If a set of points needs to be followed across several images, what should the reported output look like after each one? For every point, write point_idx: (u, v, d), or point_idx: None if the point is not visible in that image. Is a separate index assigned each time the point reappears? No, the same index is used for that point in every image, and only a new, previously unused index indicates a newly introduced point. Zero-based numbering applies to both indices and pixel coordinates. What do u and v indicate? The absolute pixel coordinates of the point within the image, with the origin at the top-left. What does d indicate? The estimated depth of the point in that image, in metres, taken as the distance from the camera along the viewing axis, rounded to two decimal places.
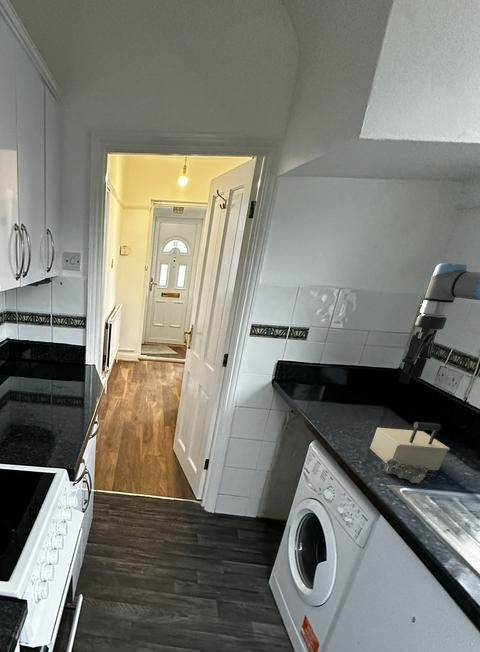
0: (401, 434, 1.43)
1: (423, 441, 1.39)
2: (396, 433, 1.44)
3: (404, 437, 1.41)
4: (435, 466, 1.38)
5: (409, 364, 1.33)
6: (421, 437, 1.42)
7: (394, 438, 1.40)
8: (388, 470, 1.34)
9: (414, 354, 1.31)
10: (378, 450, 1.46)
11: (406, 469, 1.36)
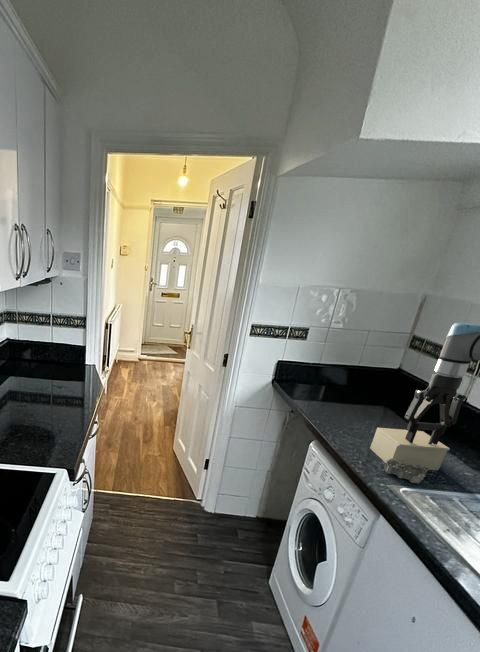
0: (401, 434, 1.43)
1: (423, 441, 1.39)
2: (396, 433, 1.44)
3: (404, 437, 1.41)
4: (435, 466, 1.38)
5: (411, 423, 1.34)
6: (421, 437, 1.42)
7: (394, 438, 1.40)
8: (388, 470, 1.34)
9: (410, 413, 1.33)
10: (378, 450, 1.46)
11: (406, 469, 1.36)
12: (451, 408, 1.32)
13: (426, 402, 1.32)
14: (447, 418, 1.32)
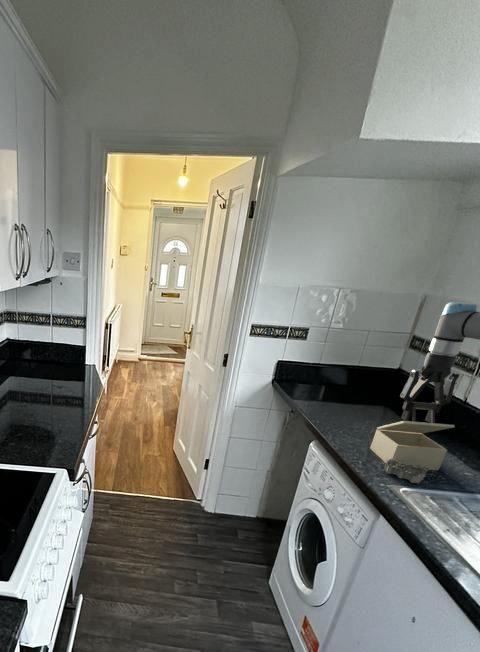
0: None
1: None
2: None
3: None
4: (435, 466, 1.38)
5: (406, 401, 1.37)
6: None
7: None
8: (388, 470, 1.34)
9: (406, 392, 1.36)
10: (378, 450, 1.46)
11: (406, 469, 1.36)
12: (445, 387, 1.35)
13: (421, 381, 1.35)
14: (442, 397, 1.35)
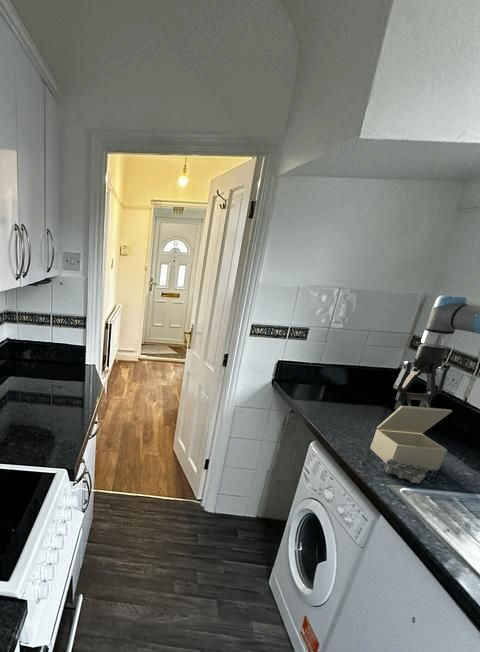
0: None
1: None
2: None
3: None
4: (435, 466, 1.38)
5: (399, 392, 1.42)
6: None
7: None
8: (388, 470, 1.34)
9: (399, 383, 1.40)
10: (378, 450, 1.46)
11: (406, 469, 1.36)
12: (437, 378, 1.40)
13: (413, 372, 1.39)
14: (433, 387, 1.39)
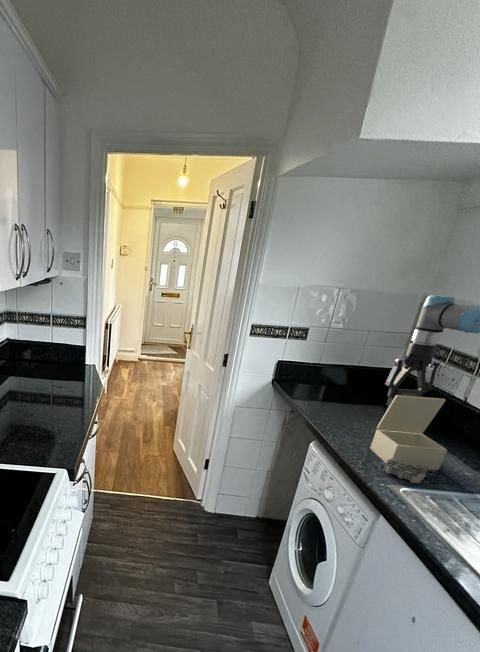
0: None
1: None
2: None
3: None
4: (435, 466, 1.38)
5: (391, 389, 1.46)
6: None
7: None
8: (388, 470, 1.34)
9: (390, 380, 1.45)
10: (378, 450, 1.46)
11: (406, 469, 1.36)
12: (427, 375, 1.44)
13: (404, 369, 1.44)
14: (424, 384, 1.44)
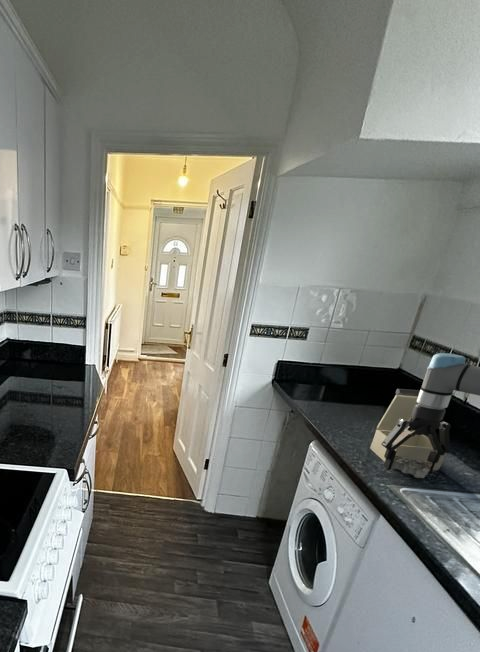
0: None
1: None
2: None
3: None
4: (435, 466, 1.38)
5: (388, 450, 1.30)
6: None
7: None
8: (392, 465, 1.33)
9: (389, 440, 1.29)
10: (378, 450, 1.46)
11: (410, 464, 1.34)
12: (440, 437, 1.28)
13: (407, 431, 1.28)
14: (439, 447, 1.27)
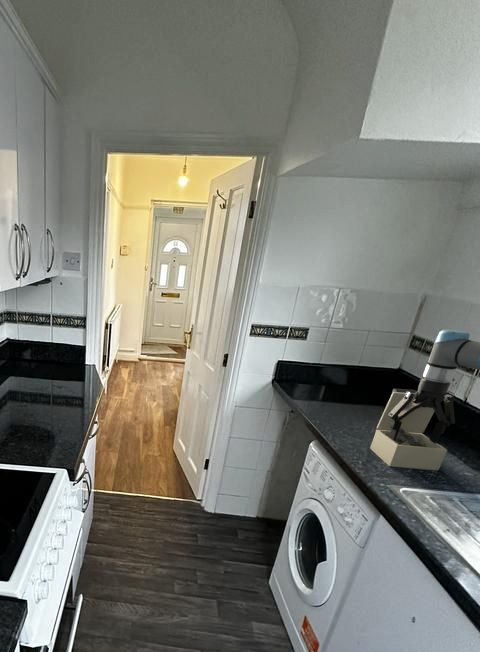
0: None
1: None
2: None
3: None
4: (435, 466, 1.38)
5: (394, 421, 1.39)
6: None
7: None
8: None
9: (395, 411, 1.37)
10: (378, 450, 1.46)
11: (408, 438, 1.45)
12: (445, 409, 1.37)
13: (413, 404, 1.36)
14: (444, 418, 1.36)
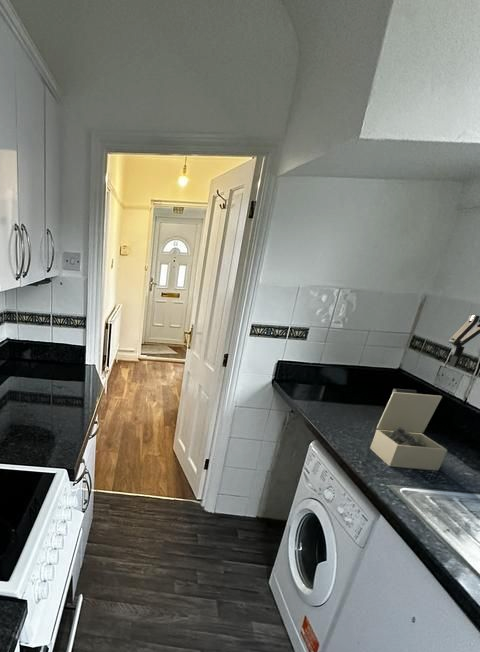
0: None
1: None
2: None
3: None
4: (435, 466, 1.38)
5: (455, 346, 1.34)
6: None
7: None
8: None
9: (458, 336, 1.32)
10: (378, 450, 1.46)
11: (408, 438, 1.45)
12: None
13: (477, 328, 1.32)
14: None
